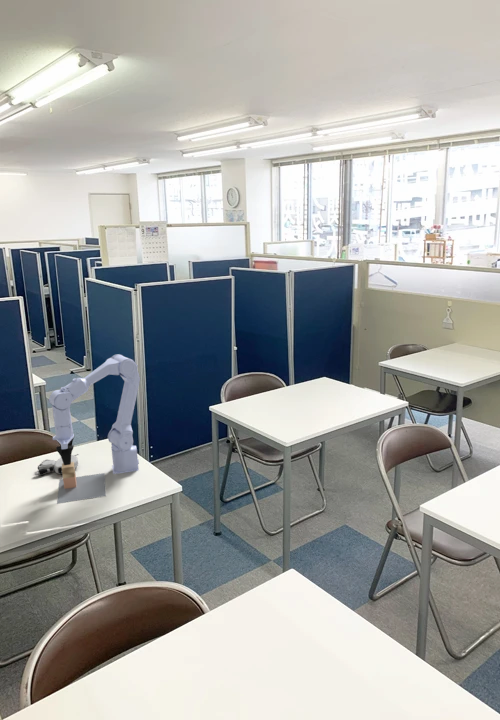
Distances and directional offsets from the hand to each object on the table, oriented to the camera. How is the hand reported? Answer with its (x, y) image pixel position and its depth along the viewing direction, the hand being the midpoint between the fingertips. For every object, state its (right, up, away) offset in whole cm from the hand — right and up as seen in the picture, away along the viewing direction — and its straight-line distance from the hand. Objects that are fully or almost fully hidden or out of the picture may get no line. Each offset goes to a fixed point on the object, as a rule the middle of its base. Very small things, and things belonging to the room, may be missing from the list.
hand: (67, 459), depth 195 cm
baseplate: (+5, -10, +1) cm, 12 cm away
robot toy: (-9, -7, +15) cm, 19 cm away
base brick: (0, -10, +2) cm, 10 cm away
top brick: (0, -6, +1) cm, 6 cm away
